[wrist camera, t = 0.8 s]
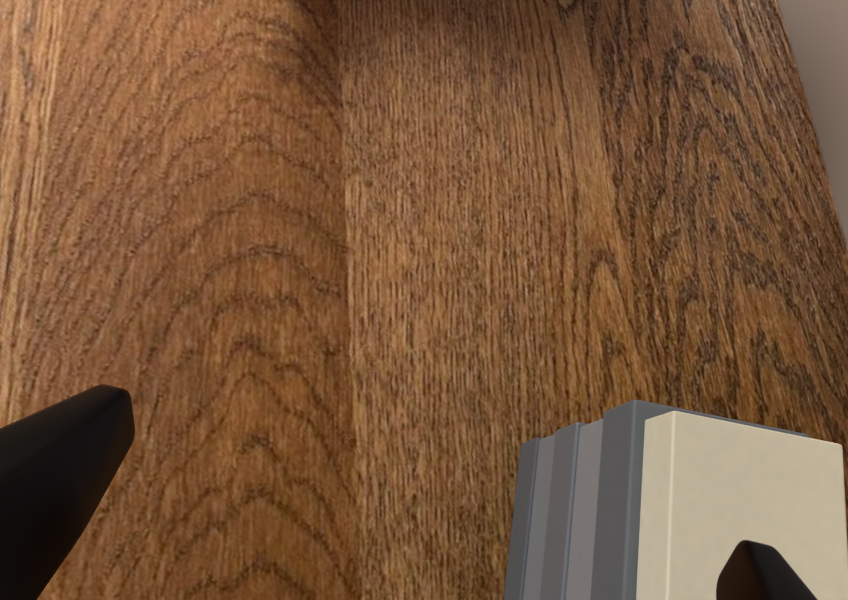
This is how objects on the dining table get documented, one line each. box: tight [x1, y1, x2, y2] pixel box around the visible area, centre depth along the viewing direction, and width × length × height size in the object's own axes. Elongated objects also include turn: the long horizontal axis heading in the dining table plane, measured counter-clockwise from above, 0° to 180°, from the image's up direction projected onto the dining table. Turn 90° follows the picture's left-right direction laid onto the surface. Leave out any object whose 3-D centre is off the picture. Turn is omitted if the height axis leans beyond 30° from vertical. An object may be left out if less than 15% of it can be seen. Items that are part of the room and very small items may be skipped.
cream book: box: [636, 411, 848, 600], centre depth 16 cm, size 6×4×2 cm
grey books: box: [504, 399, 810, 600], centre depth 21 cm, size 7×5×10 cm
